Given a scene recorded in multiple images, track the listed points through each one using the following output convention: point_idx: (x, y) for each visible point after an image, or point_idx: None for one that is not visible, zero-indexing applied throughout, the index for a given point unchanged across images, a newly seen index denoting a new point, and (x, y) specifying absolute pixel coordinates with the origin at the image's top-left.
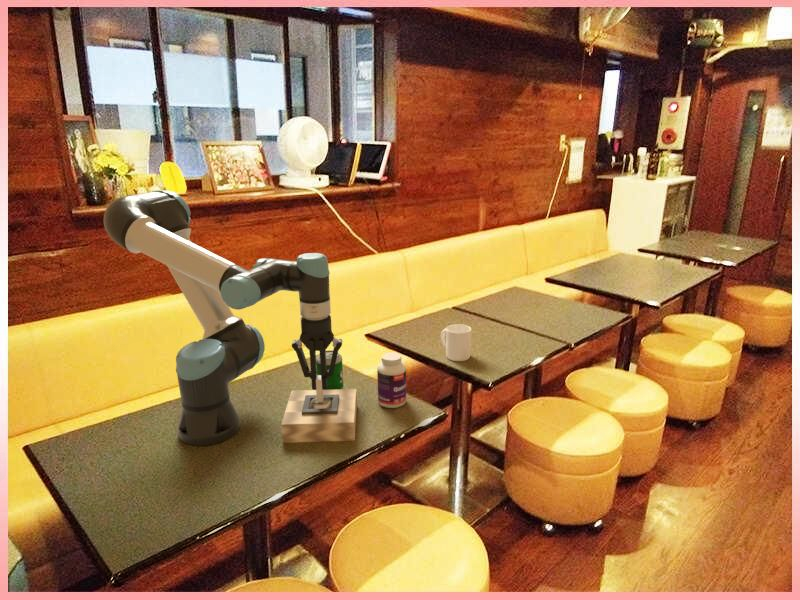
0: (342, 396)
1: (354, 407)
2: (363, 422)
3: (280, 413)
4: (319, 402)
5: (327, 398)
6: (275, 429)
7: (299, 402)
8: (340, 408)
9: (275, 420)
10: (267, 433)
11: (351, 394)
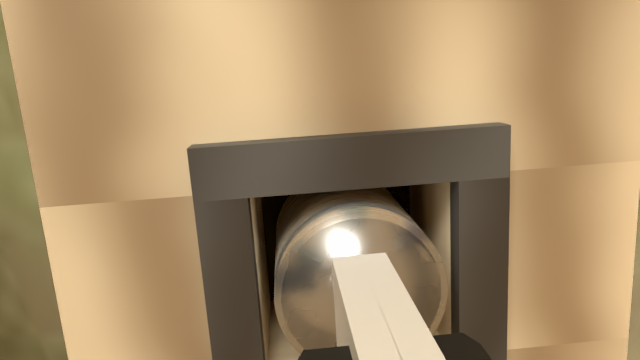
0: (528, 110)
1: (627, 295)
2: None
3: (9, 104)
4: None
5: (417, 242)
6: (50, 309)
7: (153, 229)
8: (518, 313)
9: (8, 201)
10: (14, 354)
11: (609, 72)
